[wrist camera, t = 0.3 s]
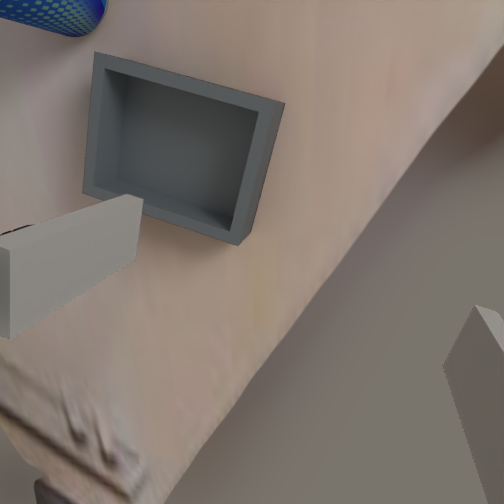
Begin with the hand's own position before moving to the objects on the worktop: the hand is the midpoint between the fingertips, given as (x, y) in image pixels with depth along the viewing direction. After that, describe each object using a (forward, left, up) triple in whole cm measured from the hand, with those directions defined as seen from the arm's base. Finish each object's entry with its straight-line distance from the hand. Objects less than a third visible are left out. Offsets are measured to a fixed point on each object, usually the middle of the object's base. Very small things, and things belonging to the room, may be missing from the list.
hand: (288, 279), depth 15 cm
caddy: (+1, -16, -27) cm, 32 cm away
